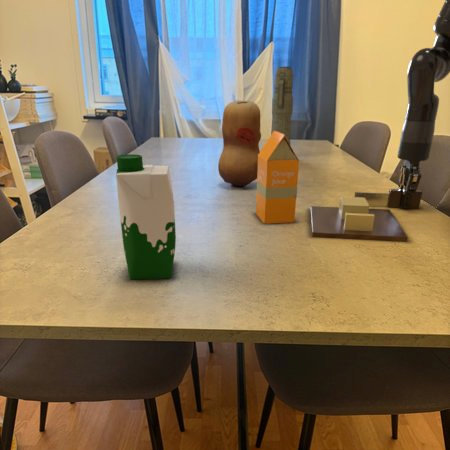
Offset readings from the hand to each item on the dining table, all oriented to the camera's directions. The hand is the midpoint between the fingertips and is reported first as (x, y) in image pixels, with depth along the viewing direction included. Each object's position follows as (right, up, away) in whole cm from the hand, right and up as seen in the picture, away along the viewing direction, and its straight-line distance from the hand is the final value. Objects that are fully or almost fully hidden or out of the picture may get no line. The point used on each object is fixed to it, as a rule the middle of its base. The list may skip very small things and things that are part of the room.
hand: (403, 206), depth 117 cm
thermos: (-24, +39, +76) cm, 88 cm away
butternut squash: (-43, +11, +23) cm, 50 cm away
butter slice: (-19, -10, -21) cm, 29 cm away
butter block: (-17, -4, -10) cm, 20 cm away
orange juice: (-36, -5, -9) cm, 37 cm away
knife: (-5, 0, +1) cm, 5 cm away
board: (-17, -7, -13) cm, 23 cm away
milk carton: (-61, -20, -39) cm, 75 cm away
